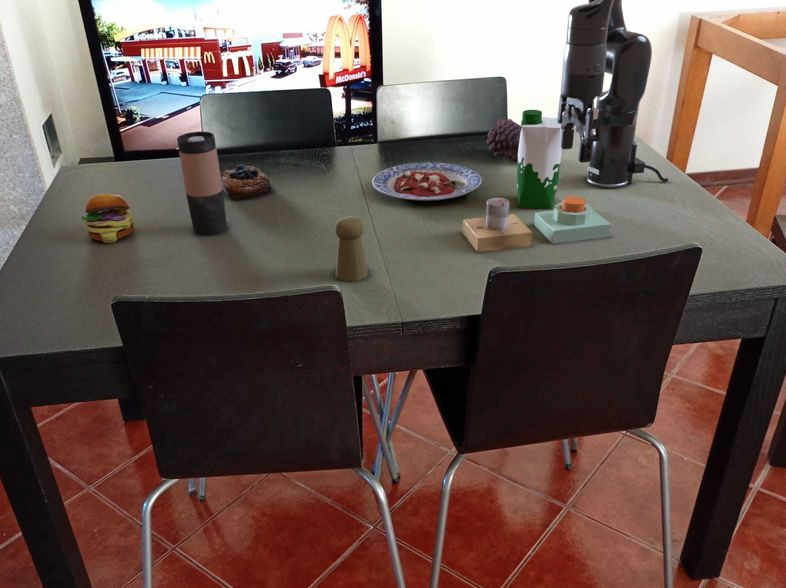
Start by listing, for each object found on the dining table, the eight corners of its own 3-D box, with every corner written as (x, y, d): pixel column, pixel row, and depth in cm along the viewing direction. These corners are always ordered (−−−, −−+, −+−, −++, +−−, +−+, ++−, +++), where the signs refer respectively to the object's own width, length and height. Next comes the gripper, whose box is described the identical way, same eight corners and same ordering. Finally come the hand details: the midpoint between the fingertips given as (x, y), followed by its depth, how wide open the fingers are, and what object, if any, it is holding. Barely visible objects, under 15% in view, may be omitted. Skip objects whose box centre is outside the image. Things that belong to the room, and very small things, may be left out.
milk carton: (515, 195, 174) (521, 106, 164) (556, 196, 173) (564, 107, 162) (514, 209, 167) (520, 117, 156) (556, 210, 165) (565, 118, 155)
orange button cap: (578, 204, 155) (579, 195, 154) (588, 212, 152) (589, 202, 151) (558, 207, 155) (559, 197, 154) (567, 214, 151) (568, 205, 150)
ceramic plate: (355, 201, 175) (355, 189, 173) (394, 167, 195) (394, 155, 193) (463, 213, 166) (464, 200, 164) (493, 176, 186) (493, 164, 184)
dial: (482, 223, 153) (483, 197, 150) (502, 220, 154) (503, 195, 151) (491, 231, 150) (492, 205, 147) (511, 227, 150) (513, 202, 148)
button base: (587, 219, 161) (590, 196, 158) (609, 237, 152) (612, 213, 150) (534, 225, 159) (535, 202, 156) (552, 243, 151) (554, 220, 148)
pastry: (260, 179, 190) (258, 156, 187) (276, 194, 181) (274, 170, 178) (218, 187, 187) (214, 164, 183) (232, 202, 177) (228, 178, 174)
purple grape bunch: (546, 161, 194) (536, 133, 186) (513, 183, 195) (501, 156, 187) (513, 126, 205) (503, 99, 197) (482, 147, 206) (470, 121, 198)
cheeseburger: (84, 247, 158) (73, 198, 155) (92, 239, 168) (82, 194, 165) (134, 241, 159) (124, 192, 156) (139, 233, 169) (130, 188, 166)
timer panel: (513, 227, 158) (514, 213, 157) (530, 246, 150) (532, 231, 148) (462, 233, 157) (463, 218, 155) (477, 252, 148) (478, 237, 147)
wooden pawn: (334, 268, 145) (331, 213, 139) (366, 266, 145) (364, 211, 139) (336, 282, 140) (332, 226, 134) (369, 279, 140) (366, 224, 134)
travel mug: (234, 223, 166) (221, 132, 155) (217, 237, 160) (202, 143, 149) (203, 220, 168) (188, 130, 158) (185, 234, 162) (169, 140, 152)
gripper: (549, 62, 144) (543, 146, 153) (580, 78, 132) (571, 168, 141) (586, 58, 145) (578, 142, 154) (620, 74, 133) (609, 164, 142)
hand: (575, 155), depth 147 cm, fingers open, 8 cm apart
